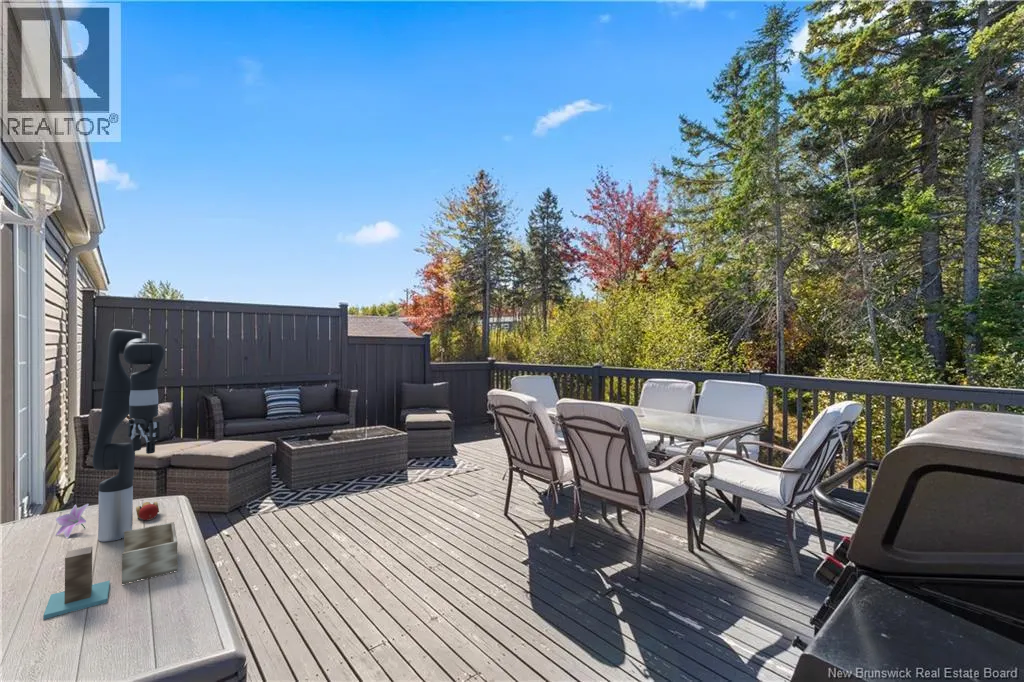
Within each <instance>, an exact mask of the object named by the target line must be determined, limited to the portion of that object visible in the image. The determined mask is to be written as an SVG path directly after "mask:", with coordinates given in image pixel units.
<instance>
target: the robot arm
mask: <svg viewBox="0 0 1024 682" xmlns="http://www.w3.org/2000/svg"><path fill="white" fill-rule="evenodd" d="M107 344H108V345H107V346H108V347H107V363H106V364H107V366H106V374H105V381H104V387H103V391H102V398H101V408H100V409H101V411H100V420H99V426H98V427H99V428H98V431H97V436H96V441H95V446H94V449H93V454H92V467H93V468H94V470H96V471H100V472H101V471H111V470H112V471H114V470H118V472H117V474H116V475H115V476H112V477H110V478H106V479H104V480H102V481H101V482H100V483H99V484H98V520H97V521H98V522H97V523H98V526H97V527H98V529H97V530H98V531H97V536H98V537H97V540H98V541H99V542H106V543H107V542H114V541H117V540H121V538H122V539H124V532H125V531H130V530H133V512H134V511H133V505H134V504H133V500H134V492H133V491H134V490H133V489H134V486H133V485H134V482H133V481H134V476H135V475H134V474H135V461H136V460H135V459H136V452H137V451H141V450H142V437H143V438H144V439H145V442H146V443H145V453H146V454H147V455H150V454H154V453H155V452H156V442H157V441H158V440H160V438H161V437H160V435H161V434H160V433H161V432H160V430H161V429H160V422H159V421H154V418H157V417H158V416H159V393H158V392H159V391H158V385H159V384H158V378H159V372H160V370H161V369H160V368H161V366H162V362H163V360H164V357H165V353H166V352H165V351H166V350H165V349H164V347H163V345H162V344H160V343H158V342H156V343H154V342H153V343H151V342H150V341H149V337H148V335H147V333H145V332H142V331H139V330H132V329H131V330H130V329H121V328H114V329H113V330H112V331H110V334H109V337H108V343H107ZM120 355H123V359H124V360H125V362H126V363H127V364H130V365H133V366H135V365H136V366H137V365H150V366H149V368H147V369H145V370H141V371H140V370H139V371H136V372H133V373H131V375H130V376H129V375H128V373H127V372H126V370H125V368H124V367H123V364H122V362H121V358H120V357H121V356H120ZM127 417H129V419H128V427H127V428H128V429H127V430H128V431H127V437H128V438H130V440H131V442H116V443H115V442H113V443H112V440H113V437H114V434H115V432H116V430H117V429H118V427H119V426H120V425H121V423H123V421H124V420H125V419H126V418H127Z"/></svg>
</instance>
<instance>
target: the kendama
mask: <svg viewBox="0 0 1024 682" xmlns="http://www.w3.org/2000/svg"><path fill="white" fill-rule="evenodd" d="M135 510H136V512H135V513H136V516H137V519H138V518H140V519H141V520H143V521H151V520H153V519H155V518H156V516H158V514H159V513H160V509H159V503H158V501H154V502H153V503H151V502H149V501H145V502H143V503H142V505H138V506H135Z"/></svg>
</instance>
